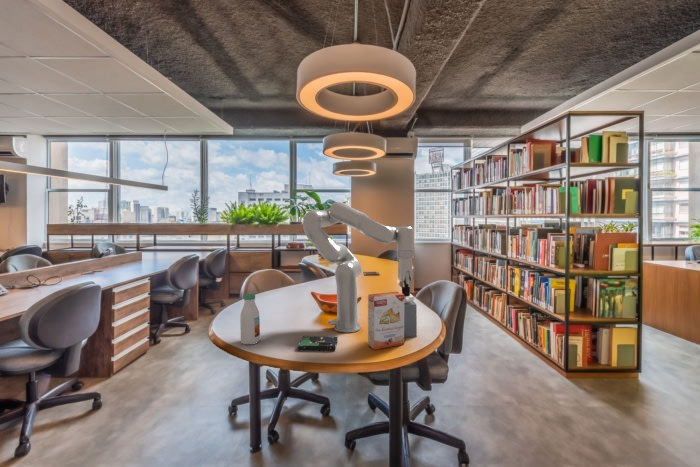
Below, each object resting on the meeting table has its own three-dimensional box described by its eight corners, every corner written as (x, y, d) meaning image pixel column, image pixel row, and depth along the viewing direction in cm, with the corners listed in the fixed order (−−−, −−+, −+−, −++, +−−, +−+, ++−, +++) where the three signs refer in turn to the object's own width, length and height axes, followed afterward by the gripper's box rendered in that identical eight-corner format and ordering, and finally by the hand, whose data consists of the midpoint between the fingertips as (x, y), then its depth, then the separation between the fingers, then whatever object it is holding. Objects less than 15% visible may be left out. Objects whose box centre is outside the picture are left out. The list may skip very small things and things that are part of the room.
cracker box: (374, 350, 122) (374, 297, 121) (367, 345, 127) (367, 294, 127) (405, 344, 127) (404, 293, 127) (397, 339, 133) (396, 290, 132)
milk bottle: (249, 346, 127) (248, 297, 127) (236, 343, 131) (235, 295, 131) (263, 340, 134) (262, 293, 133) (251, 337, 138) (250, 292, 137)
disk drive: (337, 343, 132) (302, 342, 133) (337, 336, 132) (302, 335, 132) (335, 353, 121) (297, 352, 122) (335, 346, 121) (297, 345, 122)
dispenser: (398, 336, 136) (398, 304, 136) (395, 330, 144) (395, 300, 144) (416, 336, 136) (416, 304, 136) (412, 330, 144) (412, 300, 144)
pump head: (401, 328, 134) (401, 298, 134) (397, 321, 143) (397, 294, 143) (415, 327, 134) (415, 298, 134) (410, 321, 143) (410, 294, 143)
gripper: (394, 253, 147) (394, 292, 147) (399, 256, 132) (400, 299, 132) (410, 252, 147) (410, 291, 147) (417, 256, 132) (418, 299, 132)
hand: (405, 295), depth 140 cm, fingers closed
